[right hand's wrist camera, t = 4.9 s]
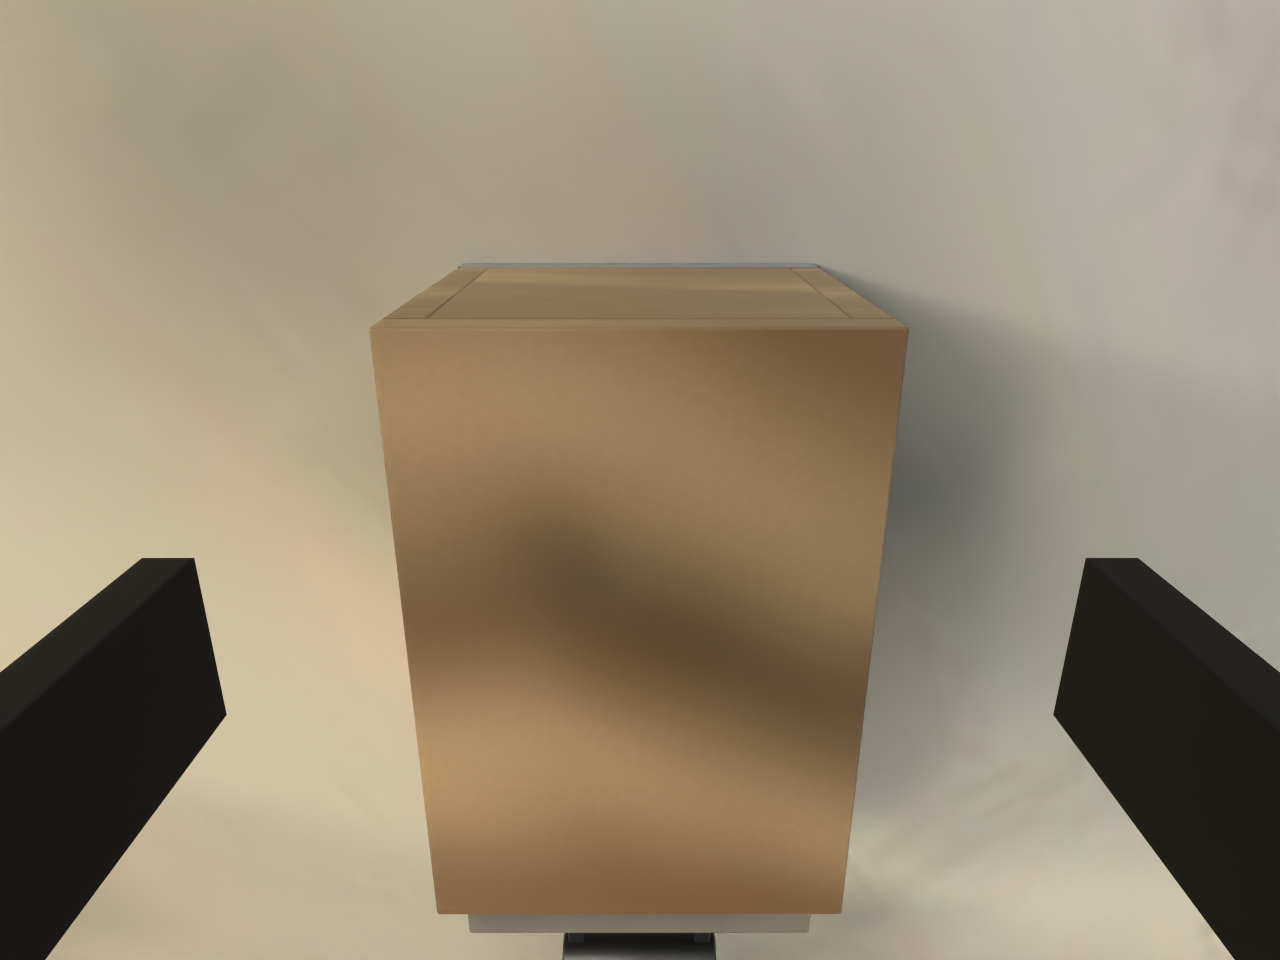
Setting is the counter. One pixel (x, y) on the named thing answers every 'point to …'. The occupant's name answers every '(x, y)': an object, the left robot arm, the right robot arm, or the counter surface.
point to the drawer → (639, 932)
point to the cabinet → (639, 578)
